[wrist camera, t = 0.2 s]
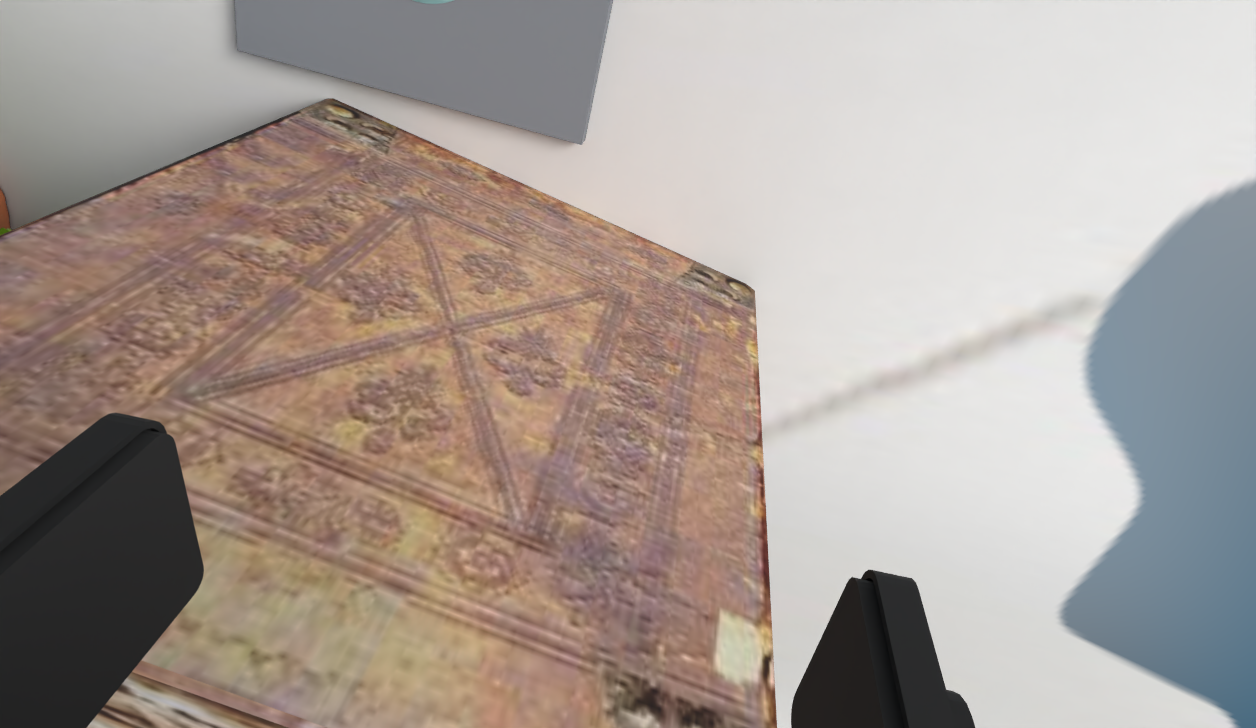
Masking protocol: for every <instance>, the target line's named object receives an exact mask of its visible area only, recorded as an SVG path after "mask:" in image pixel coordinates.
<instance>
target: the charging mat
mask: <svg viewBox="0 0 1256 728" xmlns="http://www.w3.org/2000/svg"><path fill="white" fill-rule="evenodd" d="M612 3H613V0H235V16H236V34H237V50H239V51H242V52H246V53H250V54H253V55H257V56H261V57H264V58H268V59H271V60H275V61H279V62H282V63H286V64H290V65H293V66H297V67H301V68H304V69H308V70H311V71H315V72H319V73H322V74H326V75H330V76H333V77H337V78H340V79H344V80H348V81H351V82H355V83H359V84H362V85H366V86H370V87H373V88H377V89H380V90H384V91H388V92H391V93H395V94H399V95H402V96H406V97H409V98H413V99H417V100H420V101H424V102H428V103H431V104H435V105H438V106H442V107H446V108H449V109H453V110H457V111H460V112H464V113H468V114H471V115H475V116H478V117H482V118H486V119H489V120H493V121H497V122H500V123H504V124H507V125H511V126H515V127H518V128H522V129H526V130H529V131H533V132H536V133H540V134H544V135H547V136H551V137H555V138H558V139H562V140H566V141H569V142H573V143H576V144H580V145H582V143H583V142H584V141H585V137H586V132H587V127H588V122H589V117H590V112H591V107H592V102H593V97H594V92H595V87H596V83H597V78H598V73H599V68H600V63H601V58H602V53H603V48H604V43H605V38H606V33H607V28H608V23H609V18H610V13H611V8H612Z"/></svg>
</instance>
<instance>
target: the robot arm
mask: <svg viewBox="0 0 1256 728" xmlns="http://www.w3.org/2000/svg"><path fill="white" fill-rule="evenodd" d="M203 574H204V565H203V561H202V557H201V552H200V548H199V543H198V539H197V535H196V530H195V526H194V522H193V517H192V513H191V509H190V504H189V500H188V495H187V491H186V487H185V482H184V478H183V474H182V469H181V465H180V461H179V456H178V452H177V448H176V443H175V441H174V438H173V437H172V436H171V435H169V434H167V432H166V429H165V427H164V425H162V424H161V423H160V422H159V421H154V420H150V419H145V418H140V417H135V416H131V415H126V414H121V413H116V412H115V413H110V414H107V415H106V416H104V417H102V418H100V419H99V420H98V421H97V422H95V423H94V424H93V425H91V426H90V427H89V428H87V429H86V430H85V431H84V432H82V433H81V434H80V435H78V436H77V437H76V438H74V439H73V440H72V441H71V442H69V443H68V444H67V445H65V446H64V447H63V448H62V449H60V450H59V451H58V452H56V453H55V454H54V455H52V456H51V457H50V458H49V459H47V460H46V461H45V462H43V463H42V464H41V465H40V466H38V467H37V468H36V469H34V470H33V471H32V472H30V473H29V474H28V475H27V476H25V477H24V478H23V479H21V480H20V481H19V482H18V483H16V484H15V485H14V486H12V487H11V488H10V489H8V490H7V491H6V492H5V493H3V494H2V495H1V496H0V728H87V727H88V725H89V724H90V723H91V722H92V720H93V719H94V718H95V717H96V715H97V714H98V713H99V712H100V711H101V709H102V708H103V707H104V706H105V704H106V703H107V702H108V701H109V699H110V698H111V697H112V696H113V694H114V693H115V692H116V691H117V690H118V688H119V687H120V686H121V685H122V683H123V682H124V681H125V680H126V678H127V677H128V676H129V675H130V674H131V672H132V671H133V670H134V669H135V667H136V666H137V665H138V664H139V662H140V661H141V660H142V659H143V658H144V656H145V655H146V654H147V653H148V651H149V650H150V649H151V648H152V646H153V645H154V644H155V643H156V642H157V640H158V639H159V638H160V637H161V635H162V634H163V633H164V632H165V630H166V629H167V628H168V627H169V626H170V624H171V623H172V622H173V621H174V619H175V618H176V617H177V616H178V614H179V613H180V612H181V611H182V610H183V608H184V607H185V606H186V605H187V603H188V602H189V601H190V600H191V598H192V597H193V596H194V595H195V593H196V592H197V590H198V588H199V586H200V584H201V582H202V579H203ZM791 725H792V728H975V725H974V722H973V719H972V716H971V713H970V711H969V708H968V706H967V703H966V702H965V701H964V699H963V698H962V697H961V696H960V694H957V693H955V692H953V691H949V690H946V688H945V684H944V681H943V677H942V673H941V670H940V666H939V662H938V659H937V655H936V652H935V648H934V644H933V641H932V637H931V633H930V630H929V626H928V623H927V619H926V615H925V612H924V608H923V604H922V601H921V597H920V593H919V590H918V587H917V585H916V582H915V581H914V580H913V579H912V578H907V577H902V576H897V575H893V574H888V573H883V572H878V571H873V570H868V571H866V572H865V573H864V575H863V576H862V578H861V579H858V578H853V577H852V578H851V579H849V581H848V583H847V584H846V587H845V589H844V591H843V593H842V595H841V597H840V599H839V601H838V604H837V606H836V608H835V610H834V612H833V614H832V616H831V618H830V621H829V623H828V625H827V627H826V629H825V631H824V633H823V636H822V638H821V640H820V642H819V644H818V646H817V648H816V650H815V653H814V655H813V657H812V659H811V661H810V663H809V665H808V668H807V670H806V672H805V674H804V676H803V678H802V680H801V682H800V685H799V687H798V689H797V691H796V693H795V696H794V700H793V704H792V713H791Z"/></svg>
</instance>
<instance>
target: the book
mask: <svg viewBox="0 0 1256 728" xmlns="http://www.w3.org/2000/svg"><path fill="white" fill-rule="evenodd" d="M115 412H116V413H121V414H126V415H131V416H135V417H140V418H145V419H150V420H154V421H159V422H160V423H161V424H162V425H164V427H165V429H166V432H167V434H169V435H171V436H172V437H173V438H174V441H175V443H176V448H177V452H178V456H179V461H180V465H181V469H182V474H183V478H184V482H185V487H186V491H187V495H188V500H189V504H190V509H191V513H192V517H193V522H194V526H195V530H196V535H197V539H198V543H199V548H200V552H201V557H202V561H203V565H204V574H203V579H202V582H201V584H200V586H199V588H198V590H197V592H196V593H195V595H194V596H193V597H192V598H191V600H190V601H189V602H188V603H187V605H186V606H185V607H184V608H183V610H182V611H181V612H180V613H179V614H178V616H177V617H176V618H175V619H174V621H173V622H172V623H171V624H170V626H169V627H168V628H167V629H166V630H165V632H164V633H163V634H162V635H161V637H160V638H159V639H158V640H157V642H156V643H155V644H154V645H153V646H152V648H151V649H150V650H149V651H148V653H147V654H146V655H145V656H144V658H143V659H142V660H141V661H140V662H139V664H138V665H137V666H136V667H135V669H134V670H133V671H132V672H131V674H130V675H129V676H128V677H127V678H126V680H125V681H124V682H123V683H122V685H121V686H120V687H119V688H118V690H117V691H116V692H115V693H114V694H113V696H112V697H111V698H110V699H109V701H108V702H107V703H106V704H105V706H104V707H103V708H102V709H101V711H100V712H99V713H98V714H97V715H96V717H95V718H94V719H93V720H92V722H91V723H90V724H89V725H88V727H87V728H777V720H776V700H775V680H774V661H773V641H772V621H771V602H770V582H769V562H768V543H767V523H766V503H765V484H764V464H763V445H762V425H761V405H760V386H759V366H758V346H757V327H756V307H755V291H754V290H753V289H752V288H751V287H749V286H748V285H746V284H745V283H743V282H740V281H738V280H736V279H734V278H732V277H729V276H727V275H725V274H723V273H720V272H718V271H716V270H714V269H711V268H709V267H707V266H705V265H703V264H700V263H698V262H696V261H694V260H691V259H689V258H687V257H685V256H683V255H680V254H678V253H676V252H674V251H671V250H669V249H667V248H665V247H662V246H660V245H658V244H656V243H654V242H651V241H649V240H647V239H645V238H642V237H640V236H638V235H636V234H634V233H631V232H629V231H627V230H625V229H622V228H620V227H618V226H616V225H613V224H611V223H609V222H607V221H605V220H602V219H600V218H598V217H596V216H593V215H591V214H589V213H587V212H585V211H582V210H580V209H578V208H576V207H573V206H571V205H569V204H567V203H564V202H562V201H560V200H558V199H556V198H553V197H551V196H549V195H547V194H544V193H542V192H540V191H538V190H536V189H533V188H531V187H529V186H527V185H524V184H522V183H520V182H518V181H515V180H513V179H511V178H509V177H507V176H504V175H502V174H500V173H498V172H495V171H493V170H491V169H489V168H487V167H484V166H482V165H480V164H478V163H475V162H473V161H471V160H469V159H466V158H464V157H462V156H460V155H458V154H455V153H453V152H451V151H449V150H446V149H444V148H442V147H440V146H438V145H435V144H433V143H431V142H429V141H426V140H424V139H422V138H420V137H417V136H415V135H413V134H411V133H409V132H406V131H404V130H402V129H400V128H397V127H395V126H393V125H391V124H389V123H386V122H384V121H382V120H380V119H377V118H375V117H373V116H371V115H368V114H366V113H364V112H362V111H360V110H357V109H355V108H353V107H351V106H348V105H346V104H344V103H342V102H340V101H337V100H335V99H326V100H323V101H321V102H318V103H316V104H314V105H311V106H309V107H306V108H304V109H302V110H299V111H297V112H294V113H292V114H290V115H287V116H285V117H282V118H280V119H278V120H275V121H273V122H270V123H268V124H266V125H263V126H261V127H258V128H256V129H254V130H251V131H249V132H246V133H244V134H242V135H239V136H237V137H234V138H232V139H230V140H227V141H225V142H223V143H220V144H218V145H215V146H213V147H211V148H208V149H206V150H203V151H201V152H199V153H196V154H194V155H191V156H189V157H187V158H184V159H182V160H179V161H177V162H175V163H172V164H170V165H167V166H165V167H163V168H160V169H158V170H155V171H153V172H151V173H148V174H146V175H143V176H141V177H139V178H136V179H134V180H131V181H129V182H127V183H124V184H122V185H119V186H117V187H115V188H112V189H110V190H107V191H105V192H103V193H100V194H98V195H95V196H93V197H91V198H88V199H86V200H83V201H81V202H79V203H76V204H74V205H71V206H69V207H67V208H64V209H62V210H60V211H57V212H55V213H52V214H50V215H48V216H45V217H43V218H40V219H38V220H36V221H33V222H31V223H28V224H26V225H24V226H21V227H19V228H16V229H14V230H12V231H9V232H7V233H4V234H2V235H0V496H1V495H2V494H3V493H5V492H6V491H7V490H8V489H10V488H11V487H12V486H14V485H15V484H16V483H18V482H19V481H20V480H21V479H23V478H24V477H25V476H27V475H28V474H29V473H30V472H32V471H33V470H34V469H36V468H37V467H38V466H40V465H41V464H42V463H43V462H45V461H46V460H47V459H49V458H50V457H51V456H52V455H54V454H55V453H56V452H58V451H59V450H60V449H62V448H63V447H64V446H65V445H67V444H68V443H69V442H71V441H72V440H73V439H74V438H76V437H77V436H78V435H80V434H81V433H82V432H84V431H85V430H86V429H87V428H89V427H90V426H91V425H93V424H94V423H95V422H97V421H98V420H99V419H100V418H102V417H104V416H106V415H107V414H110V413H115Z"/></svg>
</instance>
